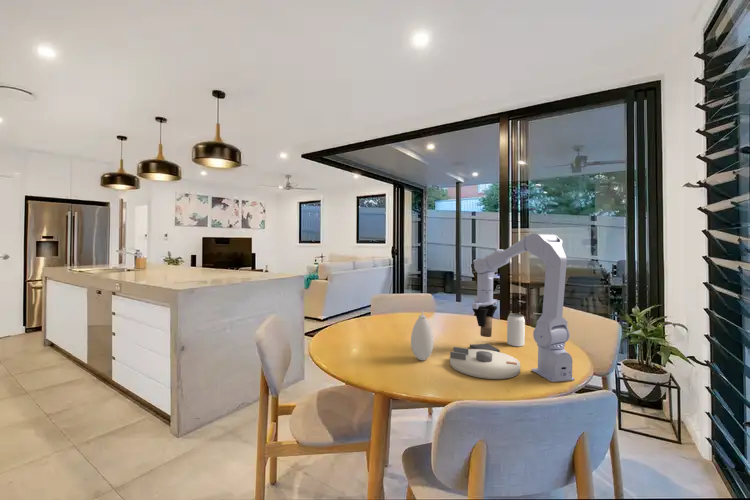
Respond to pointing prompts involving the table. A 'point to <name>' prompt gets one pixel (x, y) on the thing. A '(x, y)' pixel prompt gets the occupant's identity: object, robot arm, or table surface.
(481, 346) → the mat
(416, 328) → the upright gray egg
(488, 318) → the pin
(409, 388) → the table surface
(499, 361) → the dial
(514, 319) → the can
